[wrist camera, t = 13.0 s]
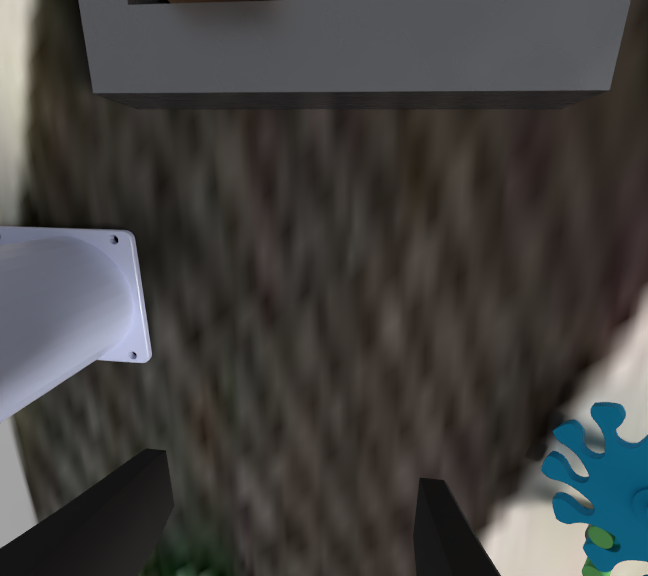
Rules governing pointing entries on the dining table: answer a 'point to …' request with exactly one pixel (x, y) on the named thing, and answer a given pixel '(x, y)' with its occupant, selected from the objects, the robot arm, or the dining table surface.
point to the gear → (604, 491)
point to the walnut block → (203, 0)
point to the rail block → (352, 53)
